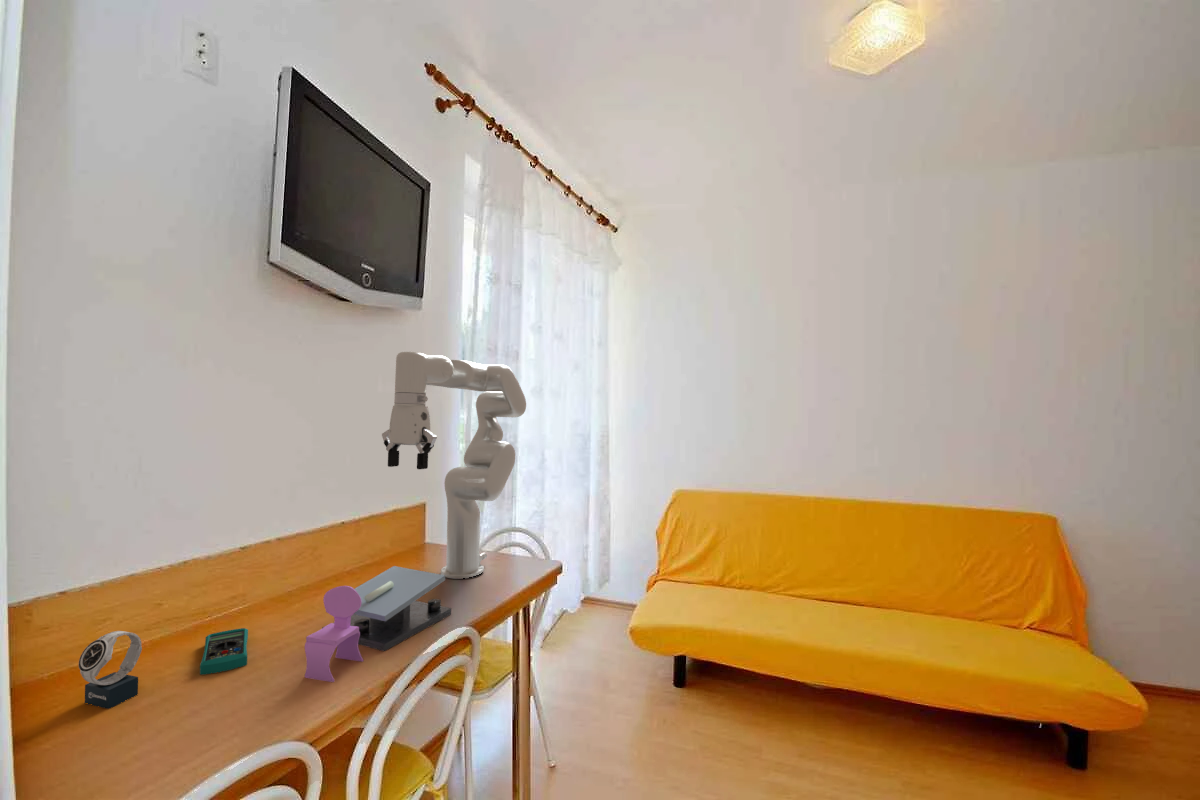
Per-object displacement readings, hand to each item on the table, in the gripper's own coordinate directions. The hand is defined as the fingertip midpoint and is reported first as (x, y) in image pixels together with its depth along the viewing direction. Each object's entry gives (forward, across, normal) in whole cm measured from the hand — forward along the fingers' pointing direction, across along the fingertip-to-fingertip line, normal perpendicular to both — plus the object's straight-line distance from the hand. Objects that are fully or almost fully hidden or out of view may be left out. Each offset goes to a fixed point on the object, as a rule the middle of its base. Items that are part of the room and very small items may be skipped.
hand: (407, 467), depth 135 cm
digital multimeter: (+36, +11, +36) cm, 52 cm away
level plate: (+28, -6, +10) cm, 30 cm away
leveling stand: (+35, -6, +10) cm, 37 cm away
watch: (+36, +12, +54) cm, 66 cm away
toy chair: (+35, -13, +30) cm, 48 cm away
